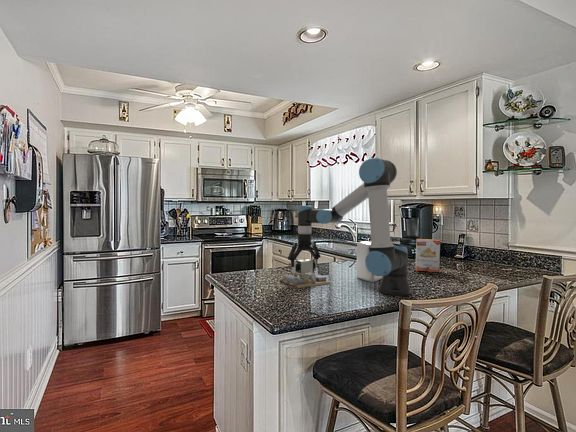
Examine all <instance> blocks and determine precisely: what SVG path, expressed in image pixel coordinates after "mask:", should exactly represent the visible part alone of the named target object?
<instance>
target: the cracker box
mask: <svg viewBox="0 0 576 432" xmlns="http://www.w3.org/2000/svg"><path fill="white" fill-rule="evenodd" d="M415 241H416V246H415V271H416V272H418V271H428V272H427V273H432V272H439V273H440V257H441V254H440V253H441V240H440V239H429V238H428V239H427V238H424V239H423V238H416V239H415Z"/></svg>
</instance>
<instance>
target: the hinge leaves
mask: <svg viewBox="0 0 576 432" xmlns="http://www.w3.org/2000/svg"><path fill="white" fill-rule="evenodd" d="M307 274H309V276H310V279H311V283H312V284H315V283H316V281H318V282H320V281H326V280H327V276H325V275H321V274H317V273H314V272H308V273H307ZM298 276H299V273H298V272H296V273H293V274H285V275H282V278H283V279H284V280H286V281H289V282H292V283H294V284H305V280H304V279H301V278H299V277H298Z"/></svg>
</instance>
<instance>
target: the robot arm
mask: <svg viewBox="0 0 576 432" xmlns="http://www.w3.org/2000/svg"><path fill="white" fill-rule="evenodd" d="M397 171H398V170H397V167H396V165H395V164H394V163H393V162H392V161H390V160H386V159H382V158H379V157H370V158H367V159H365V160H364V161H363V162H362V163H361V165H360V166H359V169H358V176H359V179H360V180H361V181H362V182H363V183H362V184H360V185H359V186H358V187H356V188H355V189H354V190H353V191H352V192H351V193H349V194H348V195H347V196H345V197H344V198H342V199H341V200H340V201H339V202H338V203H336V204H335V205H334V206H332V207H331V208H325V209H324V208H321V209H317V208H316V209H315V208H314V209H313V207H312V205H299V206H298V209H297V233H298V234H297V242H293V243H292V247H291V250H290V251H289V254H288V256H287V260H288V261H290V267H291V273H292V274H294V273H296V260H297V258H298V256H299V255H300V253H301V252H304V251H308V252H309V254H311V256H312V260H314V262H315V264H316V267H315V269H314V272H317V265H318V260H319V259H320V258H321V254H320V251H319V249H318V246H317V243H316V241H312V234H311V233H312V231H313V230H312V225H313V224H321V225H323V224H324V225H325V224H333V223H336V224H337V223H339V222H341V221H342V220H343V219H344V216H346V215H348V214H349V213H350V212H351V211H353V210H354V209H355V208H357V207H358V206H359V205H361V204H362V203H363V202H364V201H366V200H367V199H368V212H369V214H368V215H369V224H370V225H369V227H370V241H371V244H370V245H369V247H368V248H369V253H368V255H367V256H366V259H365V264H366V267H367V269H368V271H369V272H370V273H372V274H373V275H375V276H382V279H380V282H379V285H378V292H379V293H381V294H383V295H388V296H397V297H403V296H404V295H405V296H409V295H411V294H412V289H411V287H410V283H409V279H408V266H409V265H408V261H409V258H408V257H409V253H408V248H407V246H399V245H395V244H393V242H392V241H391V232H390V231H391V229H390V217H389V215H390V214H389V202H388V201H389V200H388V199H389V198H388V190H389V188H391V184H392V183H393V182H394V181H395V179H396V177H397V174H398V172H397Z"/></svg>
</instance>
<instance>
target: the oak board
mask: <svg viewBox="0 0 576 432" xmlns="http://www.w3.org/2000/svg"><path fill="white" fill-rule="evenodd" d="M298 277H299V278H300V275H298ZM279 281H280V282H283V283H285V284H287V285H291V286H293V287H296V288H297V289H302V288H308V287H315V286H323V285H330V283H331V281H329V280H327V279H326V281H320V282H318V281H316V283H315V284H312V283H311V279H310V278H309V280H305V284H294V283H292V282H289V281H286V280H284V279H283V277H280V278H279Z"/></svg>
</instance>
